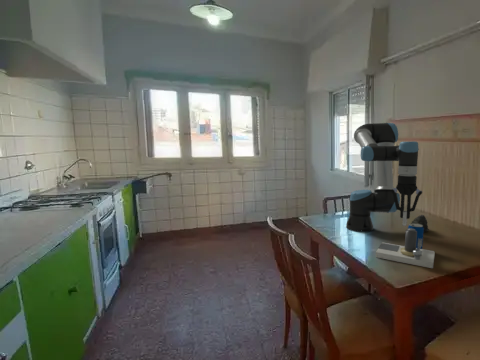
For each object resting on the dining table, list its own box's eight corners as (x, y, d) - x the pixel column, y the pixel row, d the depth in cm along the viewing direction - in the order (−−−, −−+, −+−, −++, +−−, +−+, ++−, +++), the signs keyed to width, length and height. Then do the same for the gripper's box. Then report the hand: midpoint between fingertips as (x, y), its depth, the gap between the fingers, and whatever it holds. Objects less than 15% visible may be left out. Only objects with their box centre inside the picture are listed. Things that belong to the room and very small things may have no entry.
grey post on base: (398, 259, 130) (400, 230, 129) (401, 254, 137) (402, 225, 135) (418, 263, 126) (420, 233, 124) (420, 257, 132) (422, 228, 130)
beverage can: (408, 245, 148) (409, 222, 146) (423, 248, 144) (424, 224, 142) (405, 249, 143) (407, 225, 141) (421, 252, 139) (422, 227, 137)
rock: (433, 230, 162) (426, 213, 165) (414, 234, 164) (408, 217, 167) (426, 232, 173) (420, 215, 176) (409, 235, 175) (403, 219, 178)
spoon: (412, 255, 124) (412, 248, 124) (415, 243, 137) (416, 237, 137) (421, 256, 123) (422, 249, 122) (424, 245, 136) (424, 239, 135)
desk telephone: (375, 257, 134) (376, 248, 133) (381, 247, 146) (382, 239, 145) (432, 268, 121) (433, 258, 121) (434, 256, 133) (435, 247, 133)
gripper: (390, 175, 135) (387, 224, 138) (423, 176, 127) (420, 229, 130) (392, 173, 141) (390, 221, 144) (424, 175, 133) (421, 225, 136)
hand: (404, 224), depth 137 cm, fingers closed
